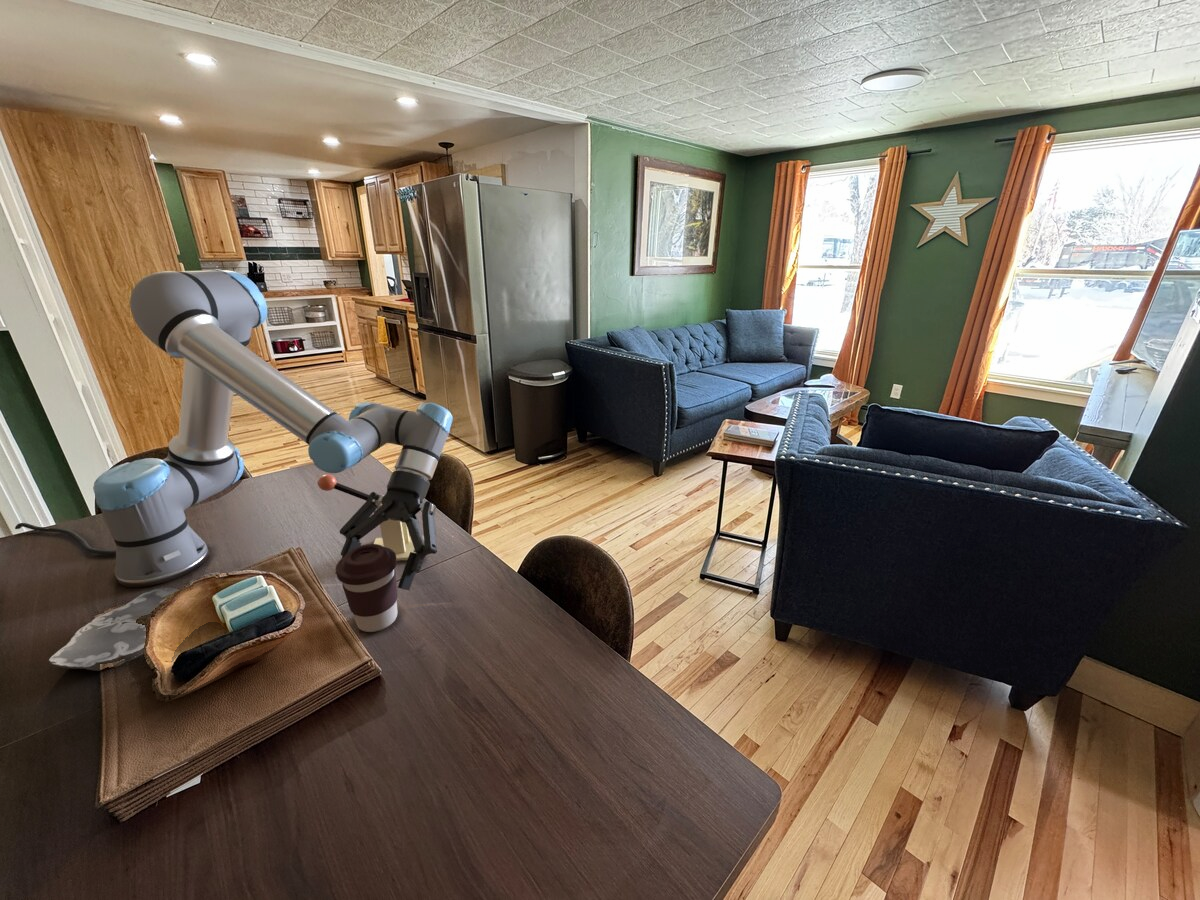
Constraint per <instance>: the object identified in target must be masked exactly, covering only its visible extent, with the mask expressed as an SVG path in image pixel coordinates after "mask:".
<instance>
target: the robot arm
mask: <svg viewBox="0 0 1200 900" xmlns="http://www.w3.org/2000/svg"><path fill="white" fill-rule="evenodd" d="M129 306H130V312H131V315H132V317H133V320H134V322H135V324H136V325H137V327H138V328H139V330H140V331H141V332H142V334H143V335H144V336H145V337H146V338H147V339H148V340H149V341H151V343H153V344H154V345H155V346H156V347H157V348H159V349H161V350H162V351H163V352H165V353H166V354H168V355H169V356H170V357H172V358H175V359H184V366H183V376H182V390H181V402H180V411H179V412H180V414H179V426H178V435H175V436H173V437H172V438H171V439H170V440H169V442H168V446H167V447H168V448H167V456H166V457H165V458H163V459H161V458H156V457H148V458H147V457H146V458H141V459H136V460H133V461H131V462H129V461H128V462H124V463H120V464H119V465H116V466H113V467H112V468H109V469H108V470H106V471H104V472H103V473H101V474H100V475H99V476H98V477H97V478H96V479H95V481H94V483H93V487H92V490H93V493H94V496H95V502H96V505H97V507H98V508H99V509H100V512H101V513H102V516H103V518H104V520H105V522H106V524H107V527H108V530H109V532H110V534H111V536H112V538H113V541H114V543H115V546H116V550H108V549H107V550H106V549H98V548H94V547H92V546H91V545H89V543H88V542H87V541H86V539H85V538H83V537H82V536H80V534H79V533H77V532H75V531H74V530H69V529H66V528H61V527H60V528H59V527H45V526H37V525H34V524H31V523H27V522H20V523H17V524H16V525H15V527H14V529H15V530H20V529H21V528H26V529H29V530H33V531H37V530H39V531H38V532H48V533H49V532H51V533H62V534H66V535H68V536H70V537H72V538H73V539H75V540H76V541H77V542H79V543H80V545H81V546H82V548H83V549H84V550H85V551H87V552H89V553H92V554H97V555H107V556H109V555H110V556H111V555H112V556H115V563H114V575H115V576H114V577H116V580H117V583H118V584H120V586H123V587H126V588H147V587H151V586H156V585H161V584H164V583H167V582H171V581H173V580H176V579H178V578H181V577H183V576H186V575H187V574H190V573H191V572H193V571H195V570H196V569H198V568H199V567H201V566H202V565H203V564H204V563H205V562H206V561H207V560H208V558H209V557H210V551H209V548H208V545H207V543H206V542H205V541H204V540H203V539H202V538H201V537H200V536H199V535H198V534H197V533H196V532H195V530H193V528H192V527H191V526H190V525H189V523H188V519H187V517H186V513H185V511H186V510H187V509H189V508H191V507H192V506H194V505H195V506H196V504H198V503H201V502H202V501H204V500H207V499H209V498H211V497H212V496H214V495H216V494H219V493H221V492H223V491H226V489H229V487H231V486H232V485H234V484H236V483H237V482H238V481H239V480H240V479H241V477H242V476H243V474H244V469H245V462H244V458H243V456H241V455H240V454H241V452H240V449H238V448H237V446H236V445H235V444H234V442H233V441H232V440H231V439H230V438H229V432H230V425H231V417H232V409H233V403H234V394H235V395H237V396H238V397H240V398H241V399H243V400H244V401H245V402H247V403H248V404H250V405H251V406H252V407H254V408H255V409H257V410H258V411H260V412H261V413H263V414H264V415H266V416H267V417H268V418H269V419H271V420H272V421H274V422H275V423H277V424H278V425H280V426H281V427H282V428H284V429H285V430H287V431H288V432H289V433H291V434H292V435H294V436H295V437H297V438H299V440H301V441H303V442H304V443H305V444H307V445H308V448H307V452H308V456H309V459H310V460H312V462H313V463H314V466H315V467H316V468H317V469H318V470H320V471H322V472H325V473H327V474H339V473H343V472H345V471H346V470H348V469H350V468H352V467H354V466H356V465H358V463H360V462H361V461H362V460H364V459H365V458H366V457H368V456H369V455H371V454H373V453H374V452H376V451H378V450H379V449H380V448H382V447H384V446H385V445H387V444H391V445H397V446H401V450H400V452H399V455H398V457H397V459H396V462H395V464H394V466H393V467H394V468H393V469H394V471H392V472H391V475H390V477H389V480H388V482H387V485H386V493H385V494H383V495H384V496H383V495H380V494H379V493H377V492H375V491H372V492H370V493H369V494H368V495H369V497H368V499H367V501H366V500H365V502H364V503H363V504H362V505H361V506H360V507H359V508H358V510H357V511H356V512H355V513H354V514H353V515H352V516H351V517H350V519H349V520H348V521H346V523H345V524H344V525H343V526H342V527H341V528H340V529H339V534H340V535H343V536H344V537H345V542H344V544H343V546H342V549H341V551H340V556H341V558H340V560H341V559H342V558H343V557H344V556H345V555H346V554H347V553H348V552H349V551H350V550H352V549H354V548H356V547H359V546H361V545H362V542H361V539H363V538H364V537H365V536H366V535H368V534H369V533H370V532H372V531H373V530H375V529H376V528H377V527H378V526H380V524H381V523H382V522H384V521H387V520H389V519H390V520H394V521H398V520H399V521H401V522H404V523H406V525H407V528H408V532H409V536H410V537H411V540H412V543H413V546H414V549H415V551H414V550H413V551H414V552H416V553H413V552H410V554H409V557H408V560H406V562H405V566H404V568H403V571H402V573H401V577H400V580H399V582H398V585H397V589H401V590H406V591H410V590H411V587H412V583H413V581H414V578H415V575H416V573H419V572H420V571H421V569H422V567H423V563H424V561H425V559H426V556H427V555H432V554H433V555H436V554H437V553H438V543H437V534H436V523H435V515H436V511H437V510H436V509H437V506H436V505H435V504H434V503H432V502H430V501H428V500H427V501H425V502H423V501H424V499H425V498H426V497H427V494H428V491H429V488H430V486H431V483H430V480H432V479H433V477H434V474H435V471H436V469H437V467H438V462H439V460H440V457H441V455H442V452H443V450H444V446H445V444H446V442H447V439H448V437H449V436H450V430H451V428H452V423H453V419H454V418H453V415H452V413H451V411H450V410H449V409H447V408H445V406H442V405H440V404H437V403H434V402H422V403H420V404H419V405H418V407H417V408H416V410H415V411H414V410H407V409H401V408H397V407H394V406H393V407H392V406H388V405H384V404H381V403H378V402H367V401H362V402H358V403H357V404H355V406H354V408H353V409H351V410H350V413H349V416H348V420H347V419H346V418H344V417H343V416H342V415H341V414H339V413H338V412H336V411H335V410H333V409H332V408H330V407H329V406H328V405H326V404H325V403H324V402H322V401H321V400H319V399H318V398H317V397H315V396H314V395H312V393H310V392H308V391H307V390H306V389H304V388H303V387H302V386H300V385H299V384H298V383H296V382H294V381H293V380H291V379H290V378H289V377H287V375H285V374H284V373H282V372H280V371H279V370H278V369H276V368H275V367H274V366H273V365H271V364H270V363H268V362H267V361H265V360H264V359H263V358H262V357H260V356H259V355H257V354H256V353H255V352H254V351H252V350H250V349H249V348H248V347H249V346H250V343H251V335H252V330H253V329H257V328H258V327H260V325H263V324H264V323H265V321H266V320H267V317H268V304H267V301H266V298H265V296H264V294H263V293H262V292H261V291H260V289H259V287H258V286H257V284H255V283H254V281H252V280H251V279H250V278H249V277H247V276H246V275H244V274H242V273H240V272H238V271H233V270H222V269H218V268H217V269H216V268H214V269H209V270H181V271H179V270H178V271H174V270H165V271H157V272H154V273H150V274H148V275H146V276H144V277H143V278H141V279H140V280H138V282H137V283H136V284H135V285H134V287H133V289H132V291H131V293H130V298H129ZM381 504H382V506H381V507H380V508H378V506H379V505H381ZM377 508H378V509H377ZM420 512H421V521H422V531H423V534H422V531H421V528H420V525H419V523H420V521H419V520H418V516H417V514H418V513H420ZM44 528H49V529H44ZM423 536H424V539H423Z"/></svg>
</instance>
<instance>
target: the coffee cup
mask: <svg viewBox="0 0 1200 900" xmlns="http://www.w3.org/2000/svg"><path fill="white" fill-rule="evenodd" d="M341 558H342V557H341ZM341 558H340V559H339V561H338V562H337V563H336V565H335V574H336V578H337V579H338V580H339V581H340V582H341V583H342V589H343V592H344V595H345V597H346V601H347V604H348V608H349V610H350V612H351V613H352V615H353V618H354V622H355V625H356V627H357V628H358V629H359V630H360V631H362V632H368V633H374V632H379V631H382V630H385V629H386V628H388V627H389V626H391V625H392V624H393V623H394V622H395V621H396V620H397V617H398V601H397V600H398V585H397V572H396V567H397V564H398V560H397V559H396V554H395V552H394V551H393V550H391V549H390V548H387V547H383V546H381V545H378V544H374V543H366V544H361V546H359V547H356V548H354V549H352V550H350V551H349V552H348V553H347V554H346V555H345V556H344V557H343V558H342V559H341Z"/></svg>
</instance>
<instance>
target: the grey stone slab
mask: <svg viewBox="0 0 1200 900" xmlns="http://www.w3.org/2000/svg"><path fill="white" fill-rule="evenodd" d="M178 589H181V588H180V587H166V588H165V587H159V588H154V589H151V590H148V591H146V592H144V593H141V594H140V595H138V596H137V597H135V598H134V599H132V600H131V601H130V602H127V603H126V604H124V605H122V606H119V607H117V608H115V609H112V610H111V611H108V612H106V613H103V614H101V615H98V616H97V617H95V618H93V619H92V620H91V622H88V623H87V624H85V625H83V626H82V627H80V628H79V629H78V630H77V631H75V633H74V634H73V636H72V637H71V638H70V640H69V641H68V642H67V643H66V645H64V646H63V647H61V648H60V649H58V651H56V652H55V653H54V654H53V655H51V657H50V658H49V659H48V662H49V664H51V666H54V667H57V668H62V669H72V670H76V669H77V670H79V669H80V670H81V669H83V670H89V671H96V672H99V671H100V669H99V667H100V664H107V663H113V662H117V661H120V660H122V659H125V660H124V661H121V662H119V663H117V664H116V665H115V667H114V668H117V667H119V666H121V665H122V664H124V663H126V662H130V661H132V660H135V659H138V658H139V657H141V656H143V655H144V654H142V653H143V648H144V645H145V638H146V627H145V625H142V624H138V623H136V620H137V618H139V617H141V616H144V615H148V614H150V613H151V612H152V611H153V610H155V608H156V607H158V606H159V605H160V603H162V602H163V600H164V599H165V598H166V597H167V596H169V595H170V594H172V593H174V592H175V591H177V590H178ZM138 655H139V656H138ZM135 656H136V657H135Z"/></svg>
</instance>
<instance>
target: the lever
mask: <svg viewBox="0 0 1200 900" xmlns="http://www.w3.org/2000/svg"><path fill="white" fill-rule="evenodd" d="M317 486H318V488H319V489H320V490H321V491H326V492H330V491H332V490H337V491H339V492H342V493H344V494H348V495H350V496H353V497H355V498H358V499H361V500H364V501H365V502H366V501H367V499H368V497H369V495H370V494H368V493H365V492H362V491H360V490H357V489H354V488H352V487H349V486H346V485H344V484H342V483H340V482H338V481H337V478H336V476H334V475H333V474H331V473H327V474H322V475H321V476H320V477H319V478H318V480H317Z"/></svg>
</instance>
